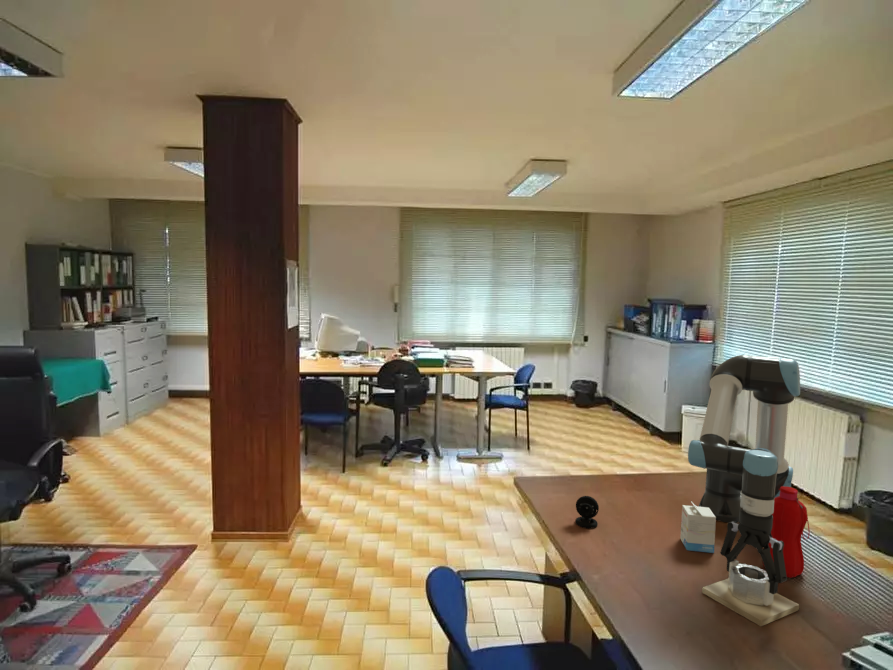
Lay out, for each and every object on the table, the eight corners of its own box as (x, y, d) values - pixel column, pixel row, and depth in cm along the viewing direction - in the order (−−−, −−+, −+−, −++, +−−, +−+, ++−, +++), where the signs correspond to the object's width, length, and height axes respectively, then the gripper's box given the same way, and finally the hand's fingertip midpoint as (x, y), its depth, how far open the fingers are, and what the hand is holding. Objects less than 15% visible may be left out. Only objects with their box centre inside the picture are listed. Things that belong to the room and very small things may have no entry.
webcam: (573, 526, 181) (574, 498, 180) (576, 518, 188) (577, 490, 187) (596, 530, 178) (598, 502, 177) (598, 522, 185) (600, 494, 184)
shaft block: (739, 579, 149) (741, 552, 149) (798, 610, 135) (801, 580, 134) (702, 592, 142) (704, 564, 141) (760, 626, 128) (763, 594, 127)
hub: (744, 582, 144) (745, 561, 144) (777, 599, 136) (779, 577, 136) (723, 590, 140) (724, 568, 140) (756, 608, 132) (758, 585, 132)
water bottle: (795, 584, 147) (803, 498, 146) (757, 566, 157) (763, 484, 155) (814, 577, 152) (821, 493, 150) (775, 560, 161) (782, 480, 160)
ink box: (714, 553, 164) (717, 512, 163) (685, 550, 166) (688, 509, 165) (706, 541, 173) (709, 501, 172) (679, 538, 174) (682, 499, 173)
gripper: (709, 498, 144) (703, 576, 146) (791, 530, 125) (783, 620, 127) (726, 494, 148) (720, 571, 150) (809, 525, 129) (801, 613, 130)
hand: (749, 593), depth 138 cm, fingers closed on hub, 9 cm apart
